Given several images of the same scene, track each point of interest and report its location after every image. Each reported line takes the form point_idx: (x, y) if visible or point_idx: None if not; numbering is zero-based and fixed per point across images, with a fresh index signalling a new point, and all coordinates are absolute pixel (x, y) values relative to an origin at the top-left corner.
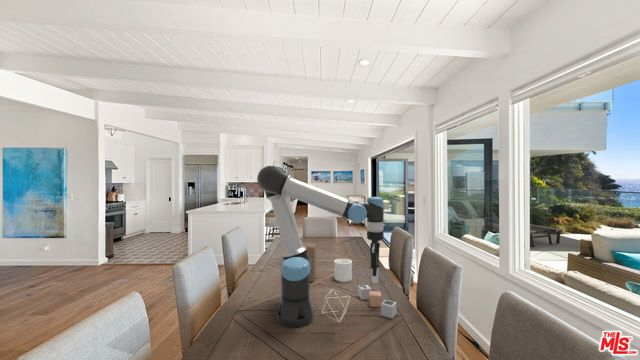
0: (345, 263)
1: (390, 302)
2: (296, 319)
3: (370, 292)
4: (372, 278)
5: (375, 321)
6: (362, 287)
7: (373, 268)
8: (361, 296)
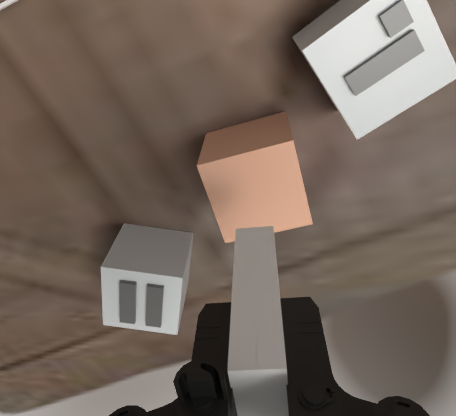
0: None
1: (146, 312)
2: None
3: (262, 156)
4: (236, 263)
5: (39, 213)
6: (363, 43)
7: (168, 413)
8: (295, 41)
